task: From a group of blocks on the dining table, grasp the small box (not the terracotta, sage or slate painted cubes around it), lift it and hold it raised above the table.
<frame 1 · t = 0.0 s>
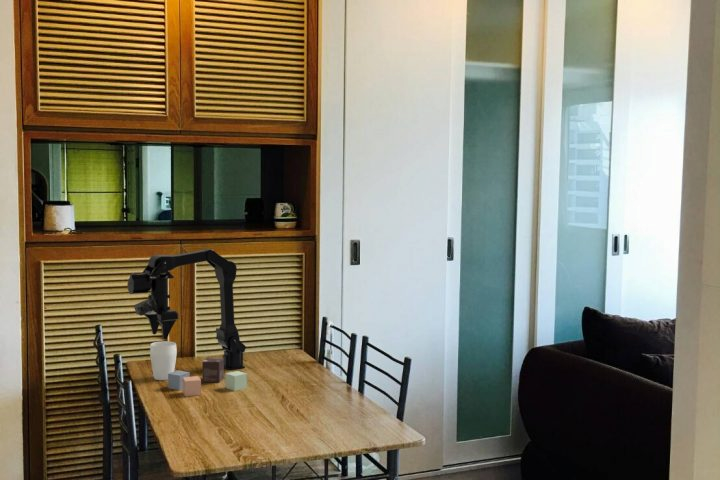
hand: (159, 336, 276), 15 cm above the table, fingers open, 9 cm apart
cube slate: (178, 387, 267), on the table
box: (213, 380, 276), on the table
cup: (163, 378, 278), on the table
cube terracotta: (191, 393, 260), on the table
cube sage: (236, 388, 267), on the table
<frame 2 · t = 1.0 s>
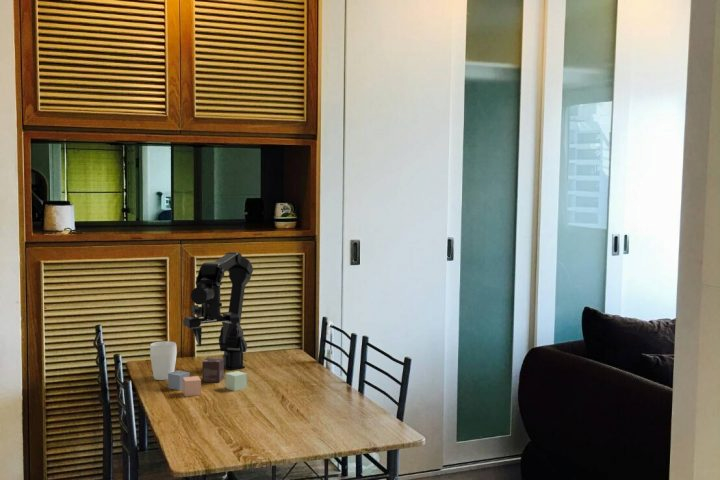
hand: (212, 344, 275), 12 cm above the table, fingers open, 9 cm apart
nothing on the table moved.
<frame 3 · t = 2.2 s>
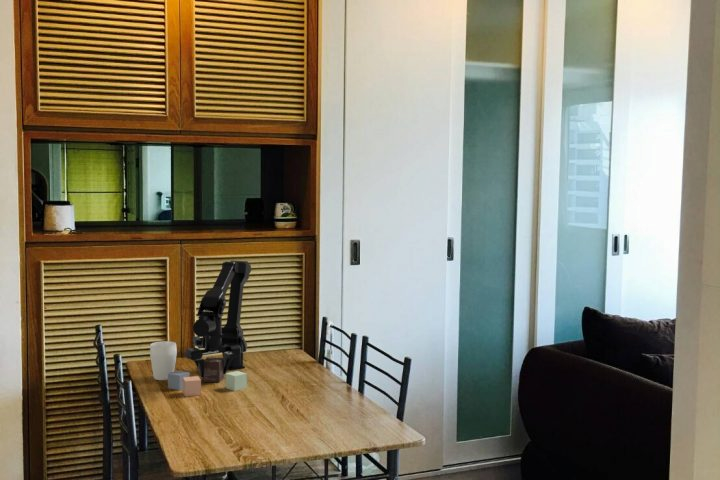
hand: (213, 375, 276), 2 cm above the table, fingers closed on box, 8 cm apart
box: (213, 380, 276), on the table, touching gripper
everything else where it was.
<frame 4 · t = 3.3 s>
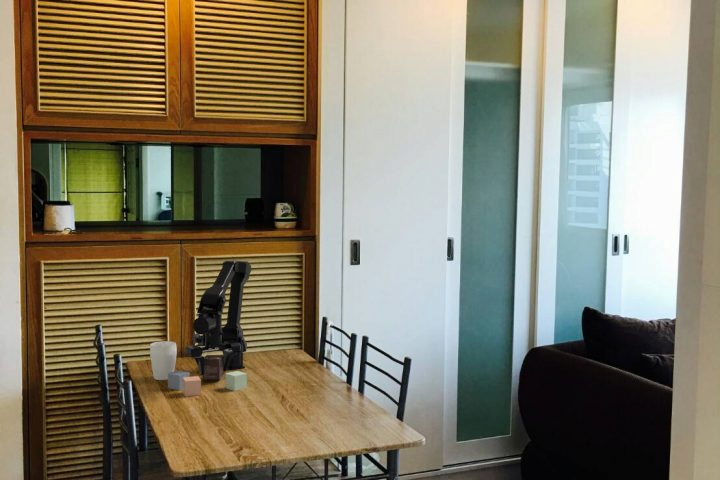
hand: (213, 373, 276), 2 cm above the table, fingers closed on box, 8 cm apart
box: (213, 378, 276), point 1 cm above the table, touching gripper
everything else where it was.
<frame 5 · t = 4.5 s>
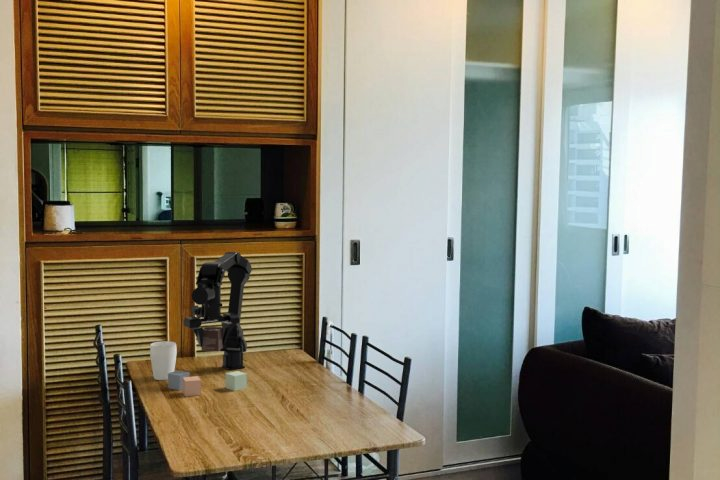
hand: (212, 345, 274), 13 cm above the table, fingers closed on box, 8 cm apart
box: (212, 350, 274), point 11 cm above the table, touching gripper
everything else where it was.
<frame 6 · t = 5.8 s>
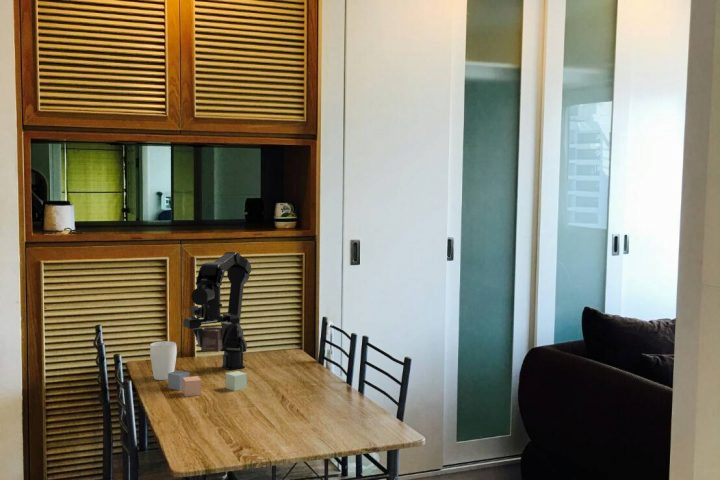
hand: (211, 345, 274), 12 cm above the table, fingers closed on box, 8 cm apart
box: (211, 350, 274), point 11 cm above the table, touching gripper
everything else where it was.
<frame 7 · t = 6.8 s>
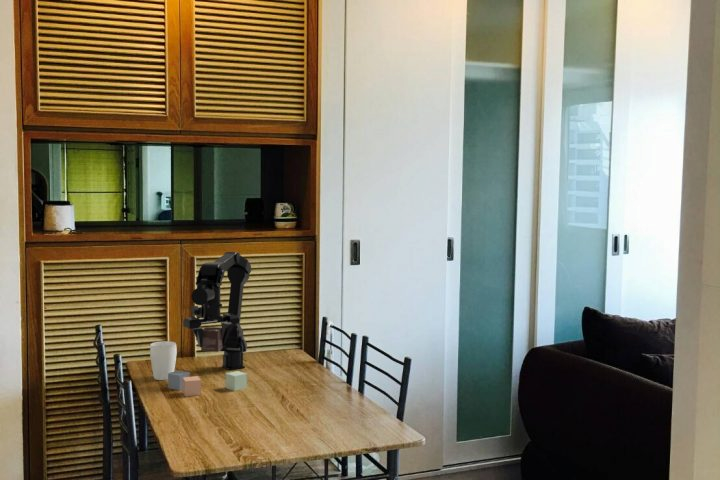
hand: (211, 345, 274), 12 cm above the table, fingers closed on box, 8 cm apart
box: (211, 350, 274), point 11 cm above the table, touching gripper
everything else where it was.
at the end: the gripper is holding box; box point 10.7 cm above the table; cube sage moved 0.1 cm from its start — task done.
